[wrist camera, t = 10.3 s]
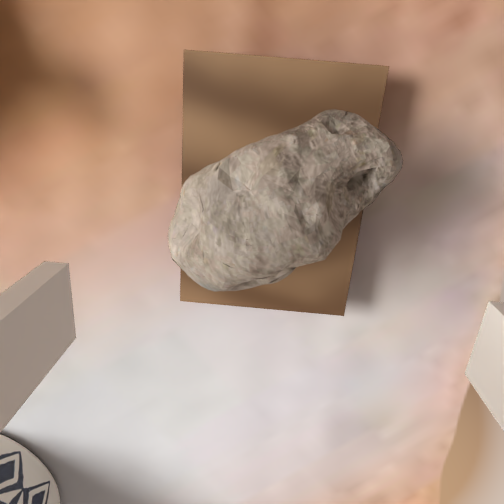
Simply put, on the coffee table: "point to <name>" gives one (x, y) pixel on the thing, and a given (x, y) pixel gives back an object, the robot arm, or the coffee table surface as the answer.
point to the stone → (279, 201)
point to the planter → (24, 476)
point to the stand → (261, 126)
